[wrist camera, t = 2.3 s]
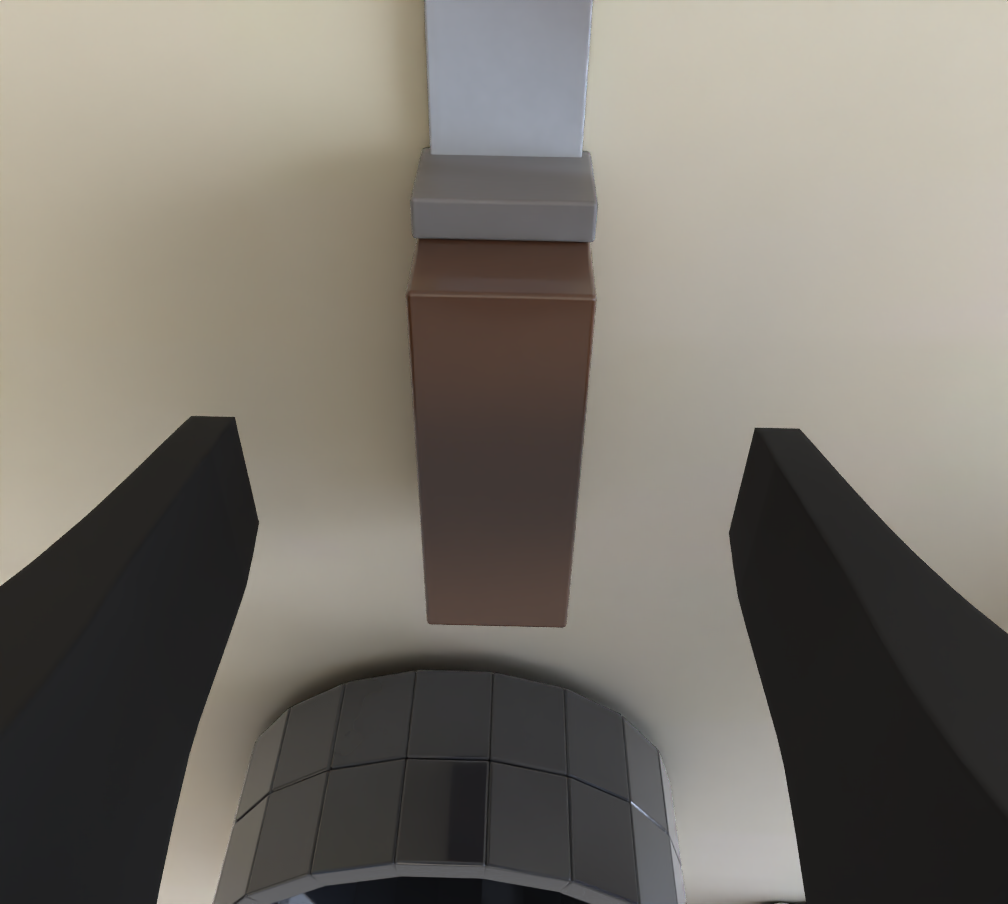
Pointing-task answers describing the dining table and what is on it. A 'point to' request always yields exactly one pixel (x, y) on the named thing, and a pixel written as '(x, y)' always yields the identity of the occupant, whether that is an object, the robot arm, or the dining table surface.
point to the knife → (502, 307)
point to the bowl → (453, 799)
